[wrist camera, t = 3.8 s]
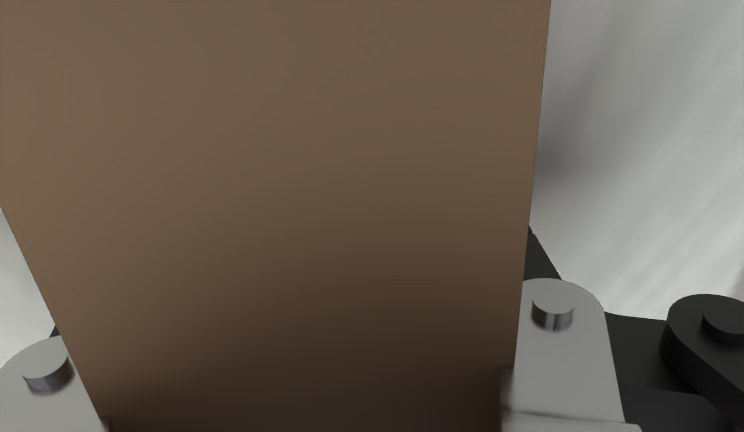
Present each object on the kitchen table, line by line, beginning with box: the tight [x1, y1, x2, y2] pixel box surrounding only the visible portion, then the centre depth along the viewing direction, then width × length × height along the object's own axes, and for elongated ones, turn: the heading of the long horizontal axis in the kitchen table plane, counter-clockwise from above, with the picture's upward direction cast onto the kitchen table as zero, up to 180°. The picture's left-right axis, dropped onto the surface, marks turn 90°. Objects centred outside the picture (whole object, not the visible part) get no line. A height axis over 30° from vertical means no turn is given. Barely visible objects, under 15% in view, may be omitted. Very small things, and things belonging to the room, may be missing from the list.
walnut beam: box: [0, 0, 551, 432], centre depth 10 cm, size 14×4×6 cm, turn 4°
